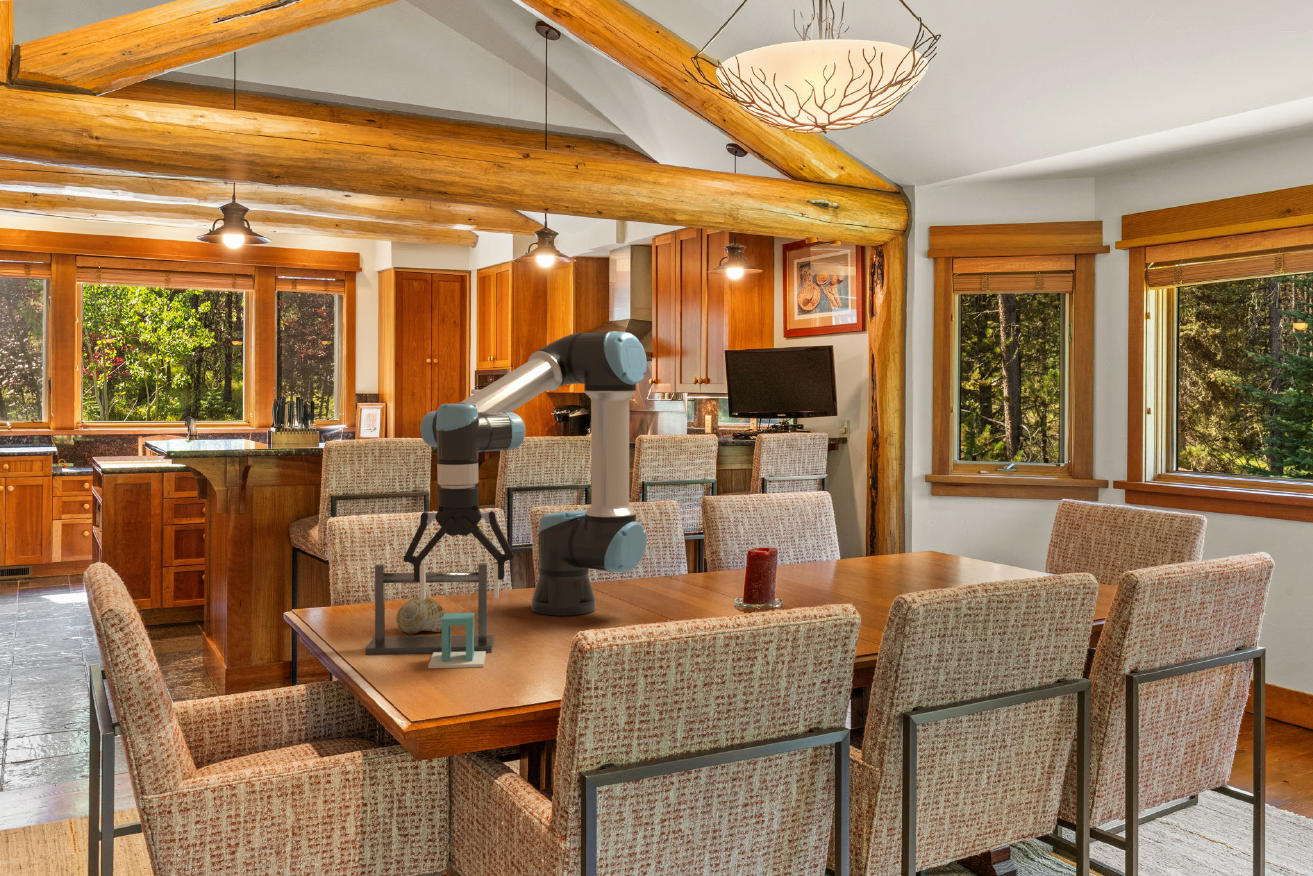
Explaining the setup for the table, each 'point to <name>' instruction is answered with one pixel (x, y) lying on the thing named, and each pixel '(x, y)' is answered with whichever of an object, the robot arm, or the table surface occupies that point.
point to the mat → (457, 660)
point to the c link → (446, 633)
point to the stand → (427, 643)
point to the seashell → (420, 616)
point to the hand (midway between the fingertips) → (459, 598)
